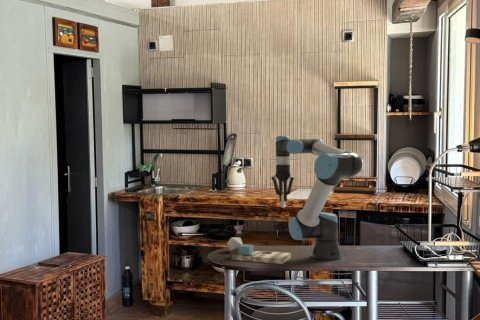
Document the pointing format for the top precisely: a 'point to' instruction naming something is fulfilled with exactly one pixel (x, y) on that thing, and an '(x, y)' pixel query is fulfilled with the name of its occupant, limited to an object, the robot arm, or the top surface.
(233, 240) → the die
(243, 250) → the block
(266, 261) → the trap board
